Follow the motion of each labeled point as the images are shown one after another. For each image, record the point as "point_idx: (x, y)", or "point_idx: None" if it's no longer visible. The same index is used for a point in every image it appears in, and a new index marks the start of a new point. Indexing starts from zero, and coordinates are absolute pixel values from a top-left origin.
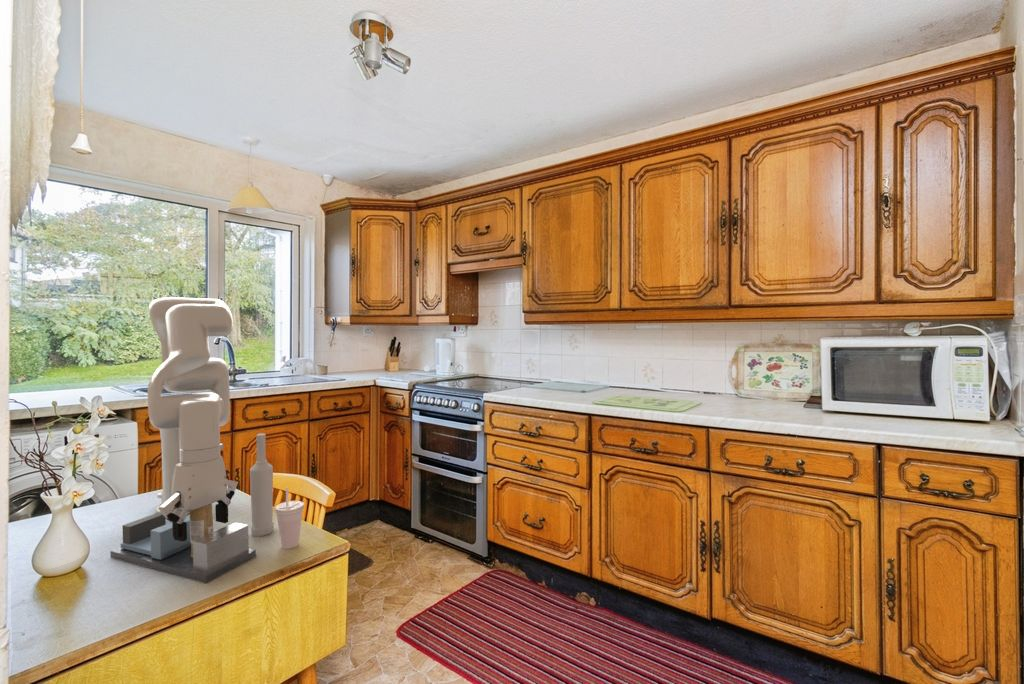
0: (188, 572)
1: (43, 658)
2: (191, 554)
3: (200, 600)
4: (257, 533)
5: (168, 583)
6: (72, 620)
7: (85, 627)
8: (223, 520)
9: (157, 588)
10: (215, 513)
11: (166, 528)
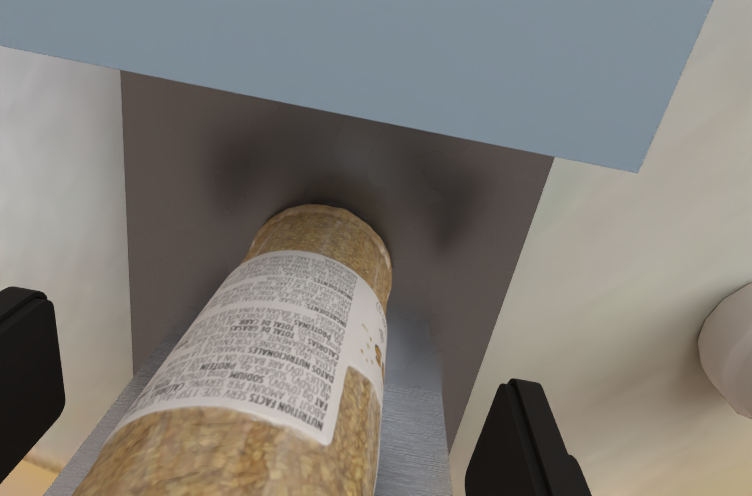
0: (135, 330)
1: None
2: (254, 243)
3: (54, 466)
4: (705, 355)
5: (75, 248)
6: None
7: None
8: (471, 488)
9: (17, 232)
10: (523, 453)
11: (82, 2)
